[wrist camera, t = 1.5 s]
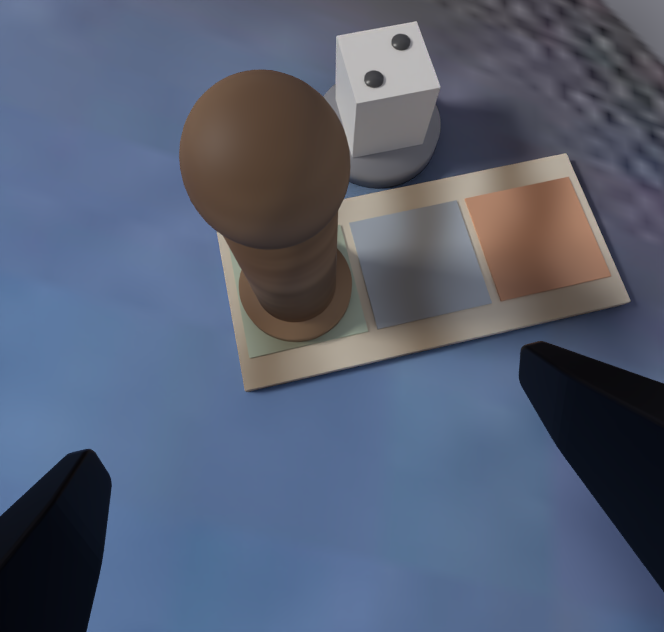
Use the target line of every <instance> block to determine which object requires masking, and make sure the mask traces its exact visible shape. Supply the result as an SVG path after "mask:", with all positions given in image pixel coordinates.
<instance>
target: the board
mask: <svg viewBox="0 0 664 632" xmlns="http://www.w3.org/2000/svg"><path fill="white" fill-rule="evenodd" d="M217 235H218V241H219V247H220V252H221V258H222V264H223V269H224V275H225V281H226V286H227V292H228V298H229V303H230V309H231V314H232V320H233V326H234V331H235V337H236V343H237V348H238V354H239V360H240V365H241V371H242V377H243V382H244V388H245V391H246V392H249V391H254V390H258V389H262V388H266V387H271V386H275V385H279V384H284V383H288V382H292V381H297V380H301V379H305V378H310V377H314V376H318V375H323V374H327V373H331V372H335V371H340V370H344V369H348V368H353V367H357V366H361V365H366V364H370V363H374V362H379V361H383V360H387V359H392V358H396V357H400V356H404V355H409V354H413V353H417V352H422V351H426V350H430V349H435V348H439V347H443V346H448V345H452V344H456V343H460V342H465V341H469V340H473V339H478V338H482V337H486V336H491V335H495V334H499V333H504V332H508V331H512V330H517V329H521V328H525V327H529V326H534V325H538V324H542V323H547V322H551V321H555V320H560V319H564V318H568V317H573V316H577V315H581V314H586V313H590V312H594V311H598V310H603V309H607V308H611V307H616V306H620V305H624V304H626V303H628V302H631V300H630V298H629V296H628V293H627V291H626V289H625V287H624V284H623V282H622V280H621V277H620V275H619V273H618V271H617V268H616V266H615V264H614V261H613V259H612V257H611V255H610V252H609V250H608V248H607V245H606V243H605V241H604V238H603V236H602V234H601V232H600V229H599V227H598V225H597V222H596V220H595V218H594V216H593V213H592V211H591V209H590V206H589V204H588V202H587V200H586V197H585V195H584V193H583V190H582V188H581V186H580V184H579V181H578V179H577V177H576V174H575V172H574V170H573V168H572V165H571V163H570V161H569V158H568V156H567V154H566V153H565V154H560V155H555V156H550V157H546V158H541V159H536V160H531V161H526V162H521V163H517V164H512V165H507V166H502V167H497V168H492V169H487V170H483V171H478V172H473V173H468V174H463V175H458V176H454V177H449V178H444V179H439V180H434V181H429V182H425V183H420V184H415V185H410V186H405V187H400V188H395V189H391V190H386V191H381V192H376V193H371V194H366V195H362V196H357V197H352V198H347V199H343V202H342V204H341V206H340V208H339V209H338V235H337V248H338V250H339V251H340V252H341V253H342V254H343V256H344V257H345V259H346V261H347V263H348V265H349V268H350V271H351V277H352V291H351V298H350V302H349V305H348V308H347V310H346V312H345V314H344V316H343V317H342V319H341V320H340V321H339V323H338V324H337V325H336V326H335V327H334V328H333V329H331V330H330V331H329V332H327V333H326V334H324V335H322V336H320V337H318V338H316V339H312V340H309V341H303V342H288V341H283V340H279V339H276V338H273V337H271V336H269V335H267V334H266V333H264V332H263V331H261V330H260V329H259V328H258V327H257V326H256V325H255V324H254V323H253V322H252V320H251V319H250V318H249V316H248V315H247V313H246V311H245V310H244V308H243V305H242V303H241V300H240V296H239V277H240V273H241V268H240V266H239V264H238V262H237V261H236V259H235V257H234V255H233V253H232V252H231V250H230V248H229V246H228V244H227V242H226V241H225V239H224V237H223V235H221V234H220V233H219V232H217Z"/></svg>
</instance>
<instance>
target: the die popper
mask: <svg viewBox="0 0 664 632" xmlns="http://www.w3.org/2000/svg"><path fill="white" fill-rule="evenodd" d="M440 88H441V87H440V85H439V82H438V79H437V76H436V74H435V71H434V68H433V65H432V63H431V60H430V57H429V54H428V52H427V49H426V46H425V43H424V41H423V38H422V35H421V32H420V30H419V27H418V24H417V21H416V22H411V23H405V24H400V25H394V26H389V27H383V28H378V29H372V30H367V31H361V32H356V33H350V34H345V35H339V36H336V84H335V85H334V86H332V87H331V88H330V89H329V90H328V92H327V93H326V94H325V95H324V98H325V99H326V101H327V102H328V103H329V104H330V106H331V107H332V108H333V110H334V111H335V112H336V114H337V116H338V118H339V120H340V122H341V124H342V126H343V128H344V131H345V134H346V137H347V141H348V145H349V150H350V166H351V169H350V178H349V182H351V183H353V184H356V185H359V186H364V187H369V188H386V187H393V186H396V185H400V184H402V183H405V182H407V181H409V180H411V179H412V178H414V177H415V176H417V175H418V174H419V173H420V172H421V171H422V170H423V169H424V168H425V167H426V166H427V164H428V163H429V161H430V159H431V157H432V155H433V152H434V149H435V147H436V144H437V141H438V139H439V135H440V130H441V121H440V114H439V111H438V108H437V106H436V100H437V97H438V94H439V91H440Z"/></svg>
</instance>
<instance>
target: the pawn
mask: <svg viewBox="0 0 664 632" xmlns="http://www.w3.org/2000/svg"><path fill="white" fill-rule="evenodd" d="M179 159H180V170H181V174H182V178H183V183H184V186H185V188H186V191H187V193H188V196H189V198H190V200H191V202H192V203H193V205H194V207H195V208H196V210H197V211H198V212H199V214H200V215H201V216H202V217H203V219H204V220H205V221H206V222H207V223H208V224H209V225H210V226H211V227H212V228H213V229H215V230H216V231H217V232H219V233H220V234H221V235H223V237H224V239H225V241H226V242H227V244H228V246H229V248H230V250H231V252H232V253H233V255H234V257H235V259H236V261H237V262H238V264H239V266H240V268H241V273H240V277H239V296H240V300H241V303H242V305H243V308H244V310H245V311H246V313H247V315H248V316H249V318H250V319H251V320H252V322H253V323H254V324H255V325H256V326H257V327H258V328H259V329H260V330H261V331H263V332H264V333H266V334H267V335H269V336H271V337H273V338H276V339H279V340H283V341H288V342H303V341H309V340H312V339H316V338H318V337H320V336H322V335H324V334H326V333H327V332H329V331H330V330H331V329H333V328H334V327H335V326H336V325H337V324H338V323H339V321H340V320H341V319H342V317H343V316H344V314H345V312H346V310H347V308H348V305H349V302H350V298H351V291H352V277H351V271H350V268H349V265H348V263H347V261H346V259H345V257H344V256H343V254H342V253H341V252H340V251H339V250H338V248H337V235H338V209H339V208H340V206H341V204H342V202H343V199H344V197H345V194H346V191H347V188H348V184H349V178H350V169H351V166H350V150H349V145H348V141H347V137H346V134H345V131H344V128H343V126H342V124H341V122H340V120H339V118H338V116H337V114H336V112H335V111H334V110H333V108H332V107H331V106H330V104H329V103H328V102H327V101H326V99H325V98H324V97H323V96H322V95H321V94H320V93H319V92H317V91H316V90H315V89H313V88H312V87H311V86H309V85H308V84H307V83H305V82H303V81H302V80H300V79H298V78H296V77H293V76H291V75H288V74H285V73H281V72H277V71H272V70H250V71H244V72H240V73H236V74H233V75H231V76H228V77H226V78H224V79H222V80H220V81H219V82H217V83H216V84H214V85H213V86H212V87H211V88H209V89H208V90H207V91H206V92H205V93H204V94H203V95H202V96H201V97H200V98H199V99H198V101H197V102H196V103H195V105H194V106H193V108H192V110H191V112H190V114H189V115H188V117H187V119H186V122H185V125H184V128H183V132H182V136H181V141H180V151H179Z"/></svg>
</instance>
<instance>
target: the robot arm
mask: <svg viewBox="0 0 664 632" xmlns="http://www.w3.org/2000/svg"><path fill="white" fill-rule="evenodd" d="M519 381H520V384H521V386H522V388H523V390H524V392H525V393H526V395H527V397H528V398H529V400H530V402H531V404H532V405H533V407H534V409H535V410H536V412H537V414H538V415H539V417H540V419H541V421H542V422H543V424H544V426H545V427H546V429H547V431H548V433H549V434H550V436H551V438H552V439H553V441H554V442H555V444H556V446H557V447H558V449H559V450H560V451H561V453H562V454H563V456H564V457H565V459H566V460H567V461H568V463H569V464H570V465H571V467H572V468H573V469H574V471H575V472H576V473H577V475H578V476H579V478H580V479H581V480H582V482H583V483H584V484H585V486H586V487H587V488H588V490H589V491H590V492H591V494H592V495H593V497H594V498H595V499H596V501H597V502H598V503H599V505H600V506H601V507H602V509H603V510H604V511H605V513H606V514H607V516H608V517H609V518H610V520H611V521H612V522H613V524H614V525H615V526H616V528H617V529H618V530H619V532H620V533H621V535H622V536H623V537H624V539H625V540H626V541H627V543H628V544H629V545H630V547H631V548H632V549H633V551H634V552H635V554H636V555H637V556H638V558H639V559H640V560H641V562H642V563H643V564H644V566H645V567H646V568H647V570H648V571H649V573H650V574H651V575H652V577H653V578H654V579H655V581H656V582H657V583H658V585H659V586H660V587H661V589H662V590H663V592H664V384H663V383H661V382H658V381H655V380H652V379H649V378H646V377H643V376H641V375H638V374H635V373H632V372H629V371H626V370H623V369H621V368H618V367H615V366H612V365H609V364H606V363H604V362H601V361H598V360H595V359H592V358H589V357H586V356H584V355H581V354H578V353H575V352H572V351H569V350H567V349H564V348H561V347H558V346H555V345H552V344H549V343H547V342H543V341H538V342H534V343H530V344H526V345H524V346H523V347H522V348H521V352H520V365H519ZM111 487H112V484H111V478H110V475H109V473H108V472H107V470H106V469H105V467H104V465H103V464H102V462H101V461H100V459H99V458H98V456H97V454H96V453H95V452H94V451H93V450H91V449H84V450H80V451H76V452H72V453H69V454H67V455H66V456H65V457H64V458H63V459H62V460H60V461H59V462H58V463H57V464H56V465H55V466H54V467H53V468H52V469H51V470H50V471H49V472H48V473H46V474H45V475H44V476H43V477H42V478H41V479H40V480H39V481H38V482H37V483H36V484H35V485H34V486H32V487H31V488H30V489H29V490H28V491H27V492H26V493H25V494H24V495H23V496H22V497H21V498H19V499H18V500H17V501H16V502H15V503H14V504H13V505H12V506H11V507H10V508H9V509H8V510H7V511H5V512H4V513H3V514H2V515H1V516H0V632H86V631H87V627H88V622H89V618H90V614H91V609H92V605H93V601H94V596H95V592H96V588H97V583H98V579H99V575H100V570H101V565H102V559H103V553H104V545H105V537H106V529H107V521H108V512H109V504H110V496H111Z"/></svg>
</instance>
